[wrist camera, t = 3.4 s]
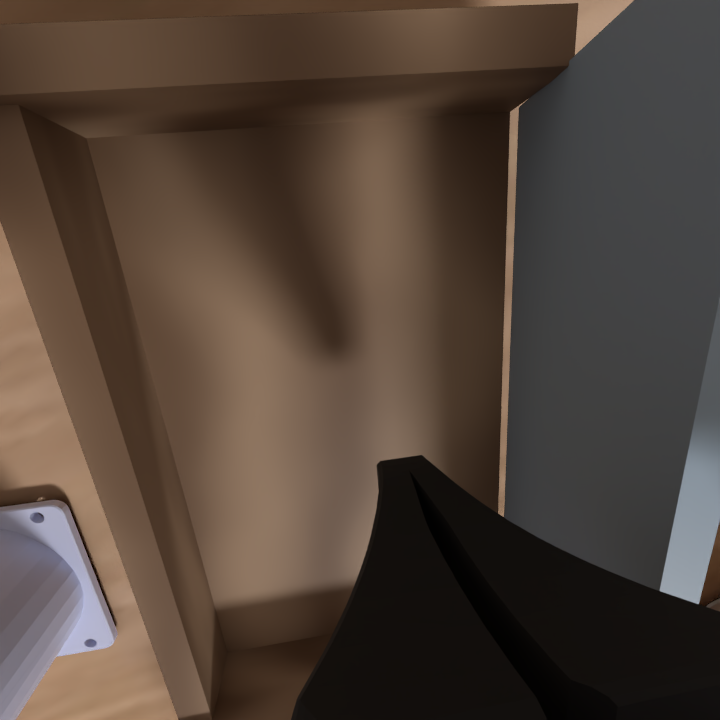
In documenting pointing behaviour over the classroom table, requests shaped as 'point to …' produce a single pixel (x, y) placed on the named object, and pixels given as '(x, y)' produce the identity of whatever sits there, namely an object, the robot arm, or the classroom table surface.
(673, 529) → the panel
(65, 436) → the classroom table surface
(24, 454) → the classroom table surface
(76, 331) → the tray
